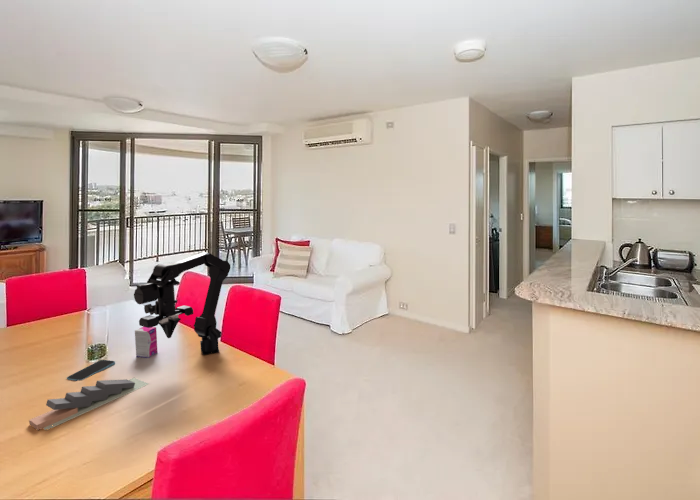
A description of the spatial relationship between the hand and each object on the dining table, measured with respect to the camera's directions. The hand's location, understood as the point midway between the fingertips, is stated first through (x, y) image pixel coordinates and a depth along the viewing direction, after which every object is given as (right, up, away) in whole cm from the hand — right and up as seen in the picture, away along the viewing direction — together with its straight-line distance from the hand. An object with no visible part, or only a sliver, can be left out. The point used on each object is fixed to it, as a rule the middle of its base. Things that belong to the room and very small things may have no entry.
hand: (169, 337), depth 141 cm
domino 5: (-7, -13, -12) cm, 19 cm away
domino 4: (-9, -13, -16) cm, 23 cm away
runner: (-13, -15, -22) cm, 30 cm away
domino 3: (-12, -14, -20) cm, 27 cm away
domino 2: (-14, -14, -24) cm, 31 cm away
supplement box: (-15, -11, +13) cm, 23 cm away
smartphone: (-29, -13, -1) cm, 31 cm away
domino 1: (-16, -15, -27) cm, 35 cm away
